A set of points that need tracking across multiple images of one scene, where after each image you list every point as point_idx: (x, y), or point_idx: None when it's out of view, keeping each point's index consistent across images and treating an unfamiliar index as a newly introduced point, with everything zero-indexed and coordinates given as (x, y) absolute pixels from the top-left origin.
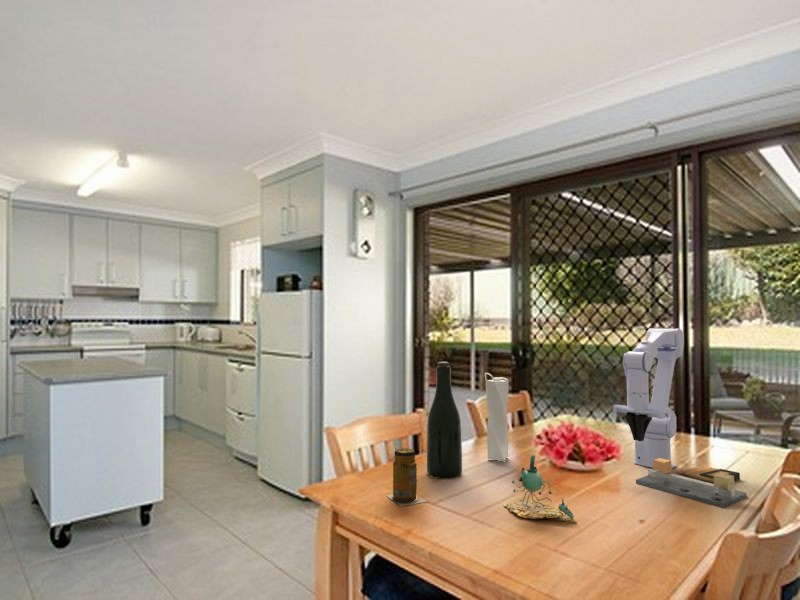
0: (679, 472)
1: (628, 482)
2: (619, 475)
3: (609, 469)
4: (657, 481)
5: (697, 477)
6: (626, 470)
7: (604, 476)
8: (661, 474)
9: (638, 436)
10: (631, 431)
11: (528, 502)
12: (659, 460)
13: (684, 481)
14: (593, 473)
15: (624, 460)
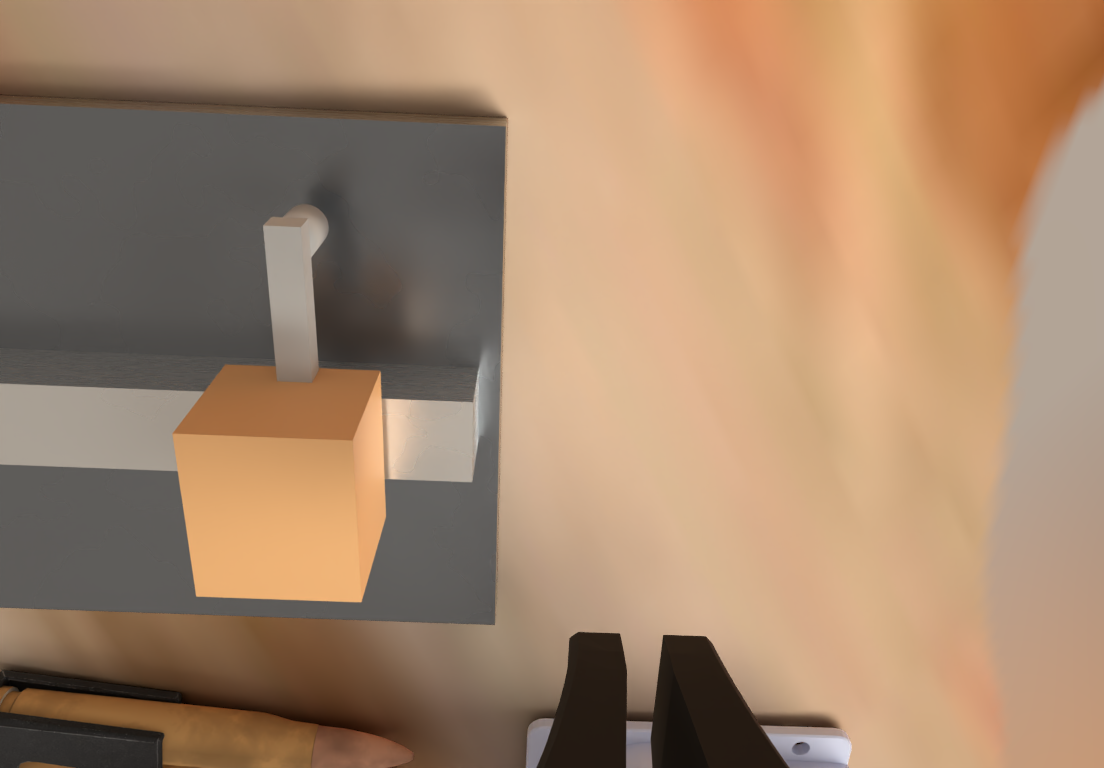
0: (387, 740)
1: (583, 73)
2: (789, 251)
3: (974, 375)
4: None
5: (192, 709)
6: (810, 483)
7: (913, 56)
8: None
9: (594, 684)
10: (772, 748)
11: None
12: (287, 490)
13: (22, 369)
14: (1079, 58)
15: (966, 757)
